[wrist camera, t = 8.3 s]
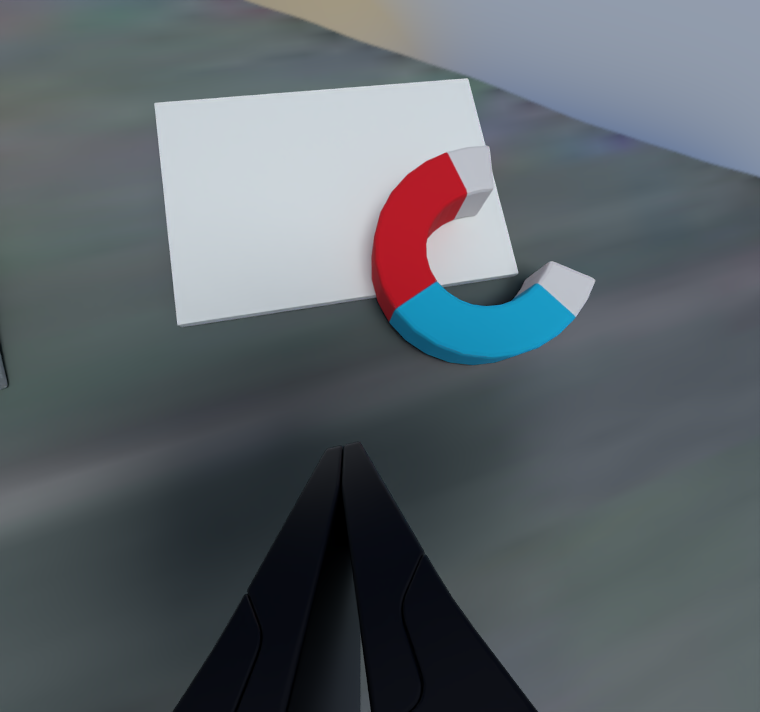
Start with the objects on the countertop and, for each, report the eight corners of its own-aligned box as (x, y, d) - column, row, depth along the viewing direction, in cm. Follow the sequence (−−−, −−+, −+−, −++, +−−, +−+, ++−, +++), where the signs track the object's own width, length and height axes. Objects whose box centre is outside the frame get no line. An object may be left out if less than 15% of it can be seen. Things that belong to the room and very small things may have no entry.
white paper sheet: (514, 276, 21) (518, 273, 21) (182, 327, 19) (177, 324, 18) (465, 85, 23) (467, 78, 23) (159, 110, 21) (154, 102, 20)
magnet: (449, 407, 19) (576, 311, 20) (465, 406, 16) (610, 295, 18) (331, 243, 20) (461, 164, 21) (327, 217, 17) (477, 128, 19)
